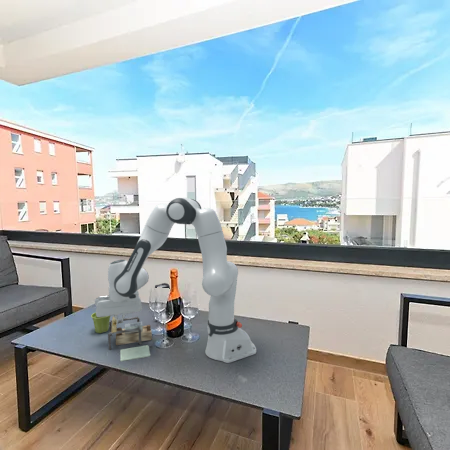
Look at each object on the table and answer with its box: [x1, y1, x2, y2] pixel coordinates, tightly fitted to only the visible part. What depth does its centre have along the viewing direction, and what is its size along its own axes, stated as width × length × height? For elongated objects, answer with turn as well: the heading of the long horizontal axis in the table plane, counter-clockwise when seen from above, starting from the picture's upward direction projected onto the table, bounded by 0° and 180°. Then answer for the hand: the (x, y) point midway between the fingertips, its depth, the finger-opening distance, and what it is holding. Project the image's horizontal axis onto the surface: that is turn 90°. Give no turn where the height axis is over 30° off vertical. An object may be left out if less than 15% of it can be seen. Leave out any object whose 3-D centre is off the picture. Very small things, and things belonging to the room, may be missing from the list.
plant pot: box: [90, 312, 111, 334], centre depth 147 cm, size 9×9×9 cm
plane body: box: [107, 316, 153, 351], centre depth 138 cm, size 19×14×8 cm
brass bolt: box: [112, 316, 118, 333], centre depth 135 cm, size 2×15×2 cm, turn 19°
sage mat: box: [119, 344, 151, 362], centre depth 126 cm, size 12×9×1 cm
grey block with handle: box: [124, 321, 143, 335], centre depth 139 cm, size 8×4×5 cm, turn 109°
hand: (120, 322), depth 136 cm, fingers closed
